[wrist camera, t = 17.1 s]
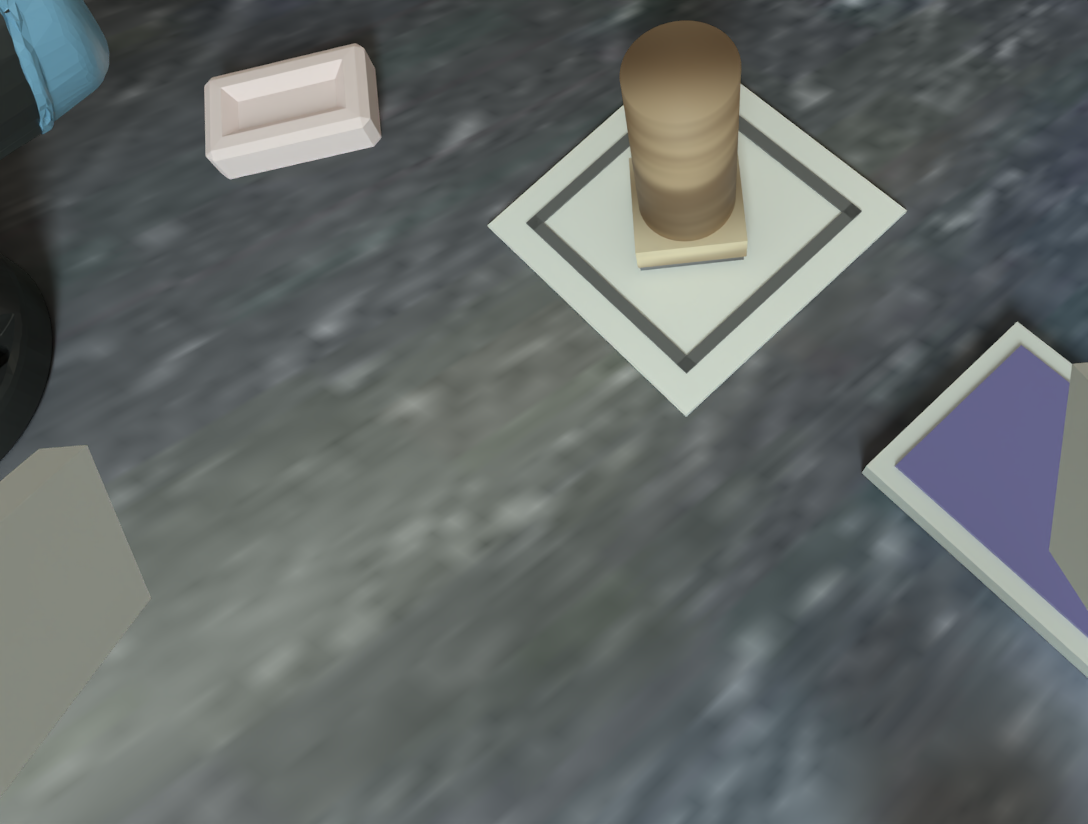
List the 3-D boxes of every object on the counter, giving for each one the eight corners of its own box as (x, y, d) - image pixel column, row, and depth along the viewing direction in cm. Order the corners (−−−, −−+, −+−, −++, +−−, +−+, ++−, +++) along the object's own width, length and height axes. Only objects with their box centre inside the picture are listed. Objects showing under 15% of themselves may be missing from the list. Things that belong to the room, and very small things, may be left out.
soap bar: (223, 102, 52) (200, 75, 49) (376, 66, 51) (361, 36, 48) (225, 184, 50) (202, 159, 48) (384, 148, 49) (368, 121, 47)
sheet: (488, 227, 46) (487, 224, 46) (690, 48, 47) (690, 44, 47) (686, 416, 41) (686, 414, 41) (906, 212, 42) (907, 209, 42)
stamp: (746, 261, 43) (756, 119, 32) (638, 272, 43) (615, 137, 33) (735, 168, 44) (742, 4, 34) (632, 180, 45) (608, 24, 35)
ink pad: (861, 473, 39) (866, 464, 38) (1008, 332, 40) (1018, 319, 38) (1104, 692, 35) (1119, 692, 34) (1263, 531, 36) (1283, 524, 34)
